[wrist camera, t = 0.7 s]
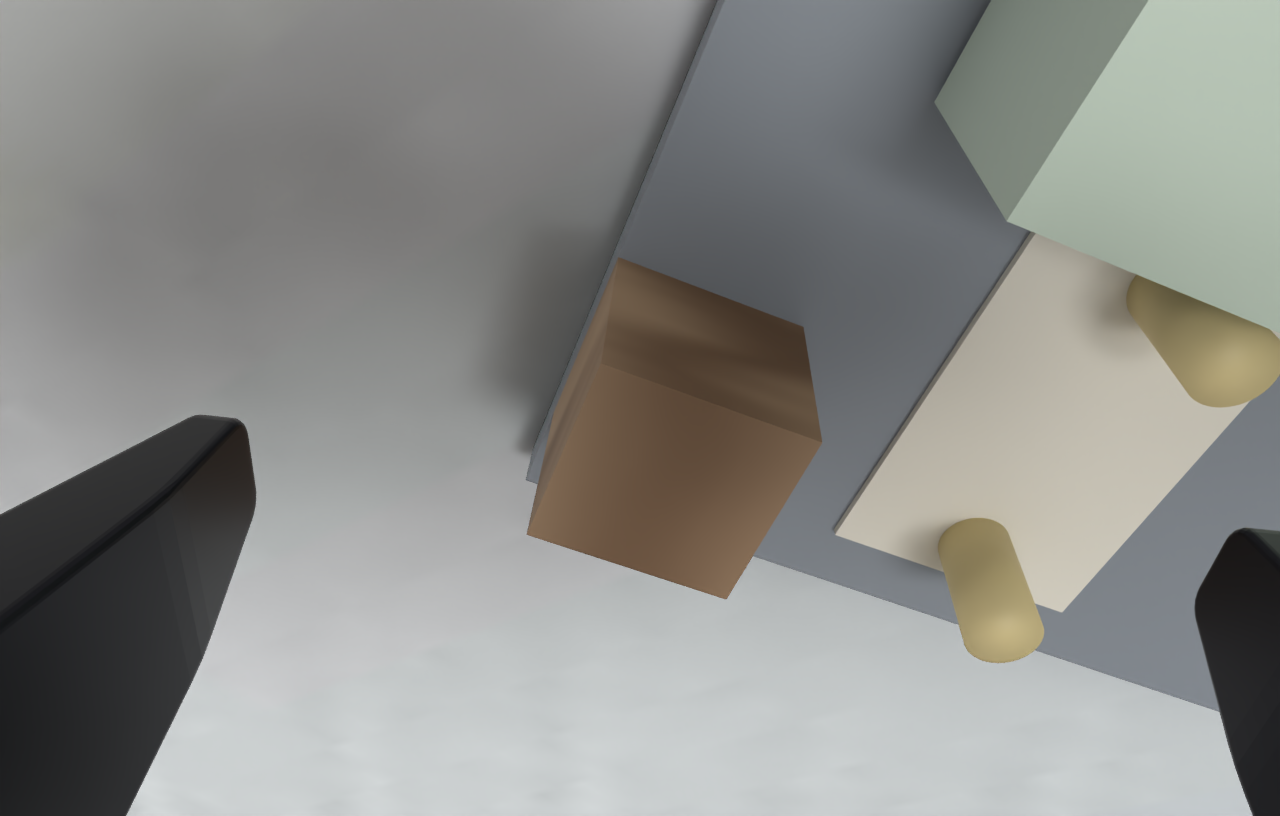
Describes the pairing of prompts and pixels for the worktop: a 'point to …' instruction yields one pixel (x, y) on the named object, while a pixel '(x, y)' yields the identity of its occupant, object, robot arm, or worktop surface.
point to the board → (957, 351)
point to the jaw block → (677, 432)
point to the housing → (1134, 136)
